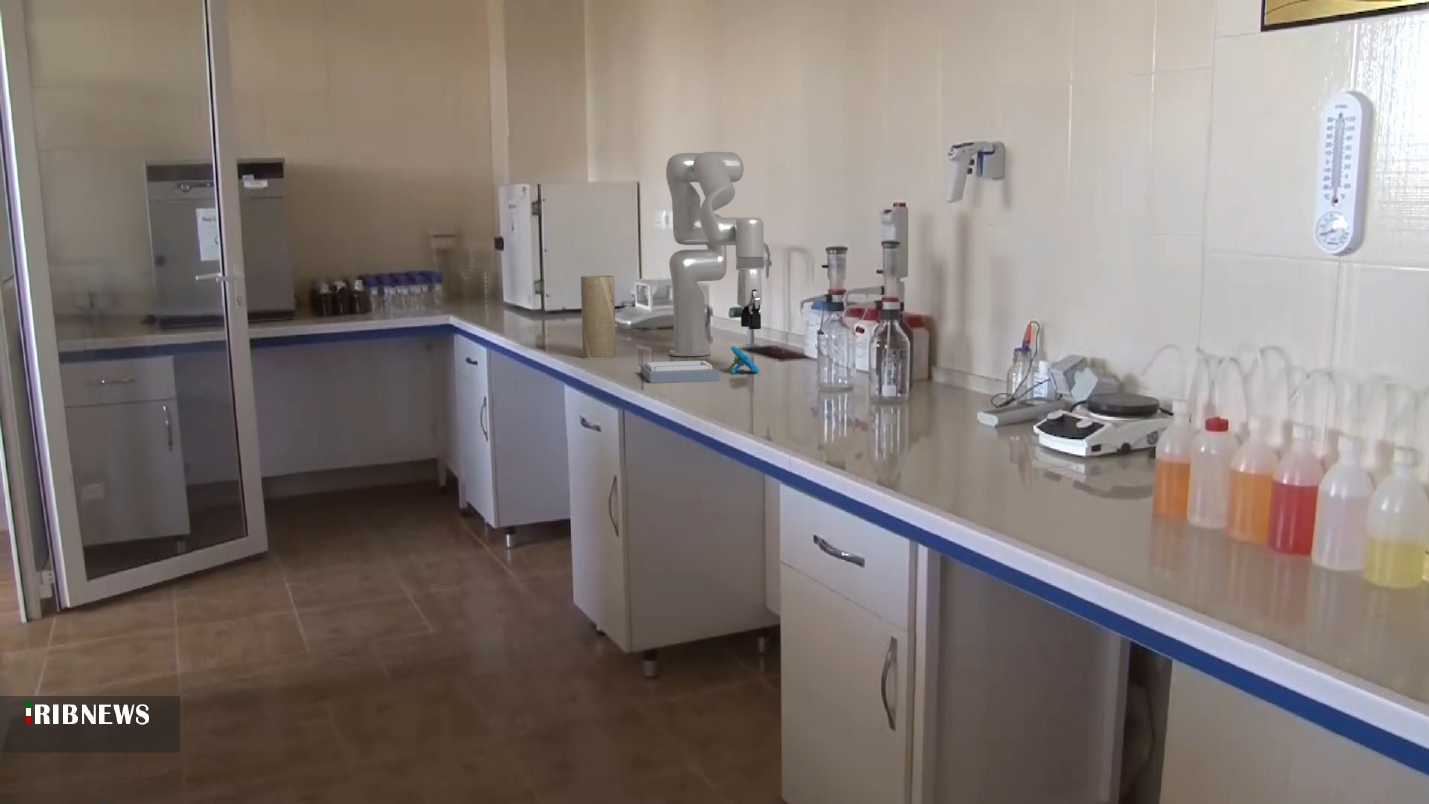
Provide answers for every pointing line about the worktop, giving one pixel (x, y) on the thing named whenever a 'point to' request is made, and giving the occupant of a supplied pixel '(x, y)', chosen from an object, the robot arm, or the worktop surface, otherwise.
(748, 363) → the blue cogwheel with peg
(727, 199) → the robot arm
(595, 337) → the tube
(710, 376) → the plate
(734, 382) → the worktop surface
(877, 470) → the worktop surface
